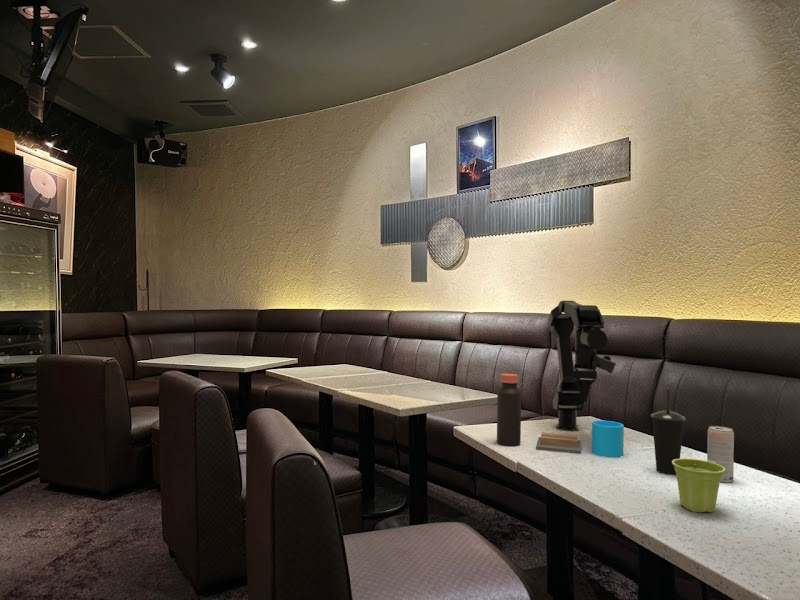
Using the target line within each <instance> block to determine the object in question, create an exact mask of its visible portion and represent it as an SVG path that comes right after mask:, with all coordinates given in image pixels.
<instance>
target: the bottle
mask: <svg viewBox="0 0 800 600" xmlns="http://www.w3.org/2000/svg"><path fill="white" fill-rule="evenodd" d="M500 382H501V383H500V384H501V387H500V388H498V390H497V392H496V393H497V397H496V398H497V401H496V403H497V404H496V405H497V406H496V407H497V408H496V416H497V417H496V442H497V444H498V445H500V446H505V445H506V447H507V446H508V447H516V446H519V445H520V444H521V434H522V433H521V432H522V431H521V428H522V427H521V426H522V391H520V389H519V388H518V384H519V375H518V374H515V373H501V374H500Z"/></svg>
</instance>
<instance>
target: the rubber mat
mask: <svg viewBox="0 0 800 600" xmlns="http://www.w3.org/2000/svg"><path fill="white" fill-rule="evenodd" d="M537 438H538V439H537V441H536V444H535V450H536V449H537V450H538V451H539V450H540V451H546V450H548V452H560V453H567V452H569V454H578V453H579V454H581V455H582V440H578V445H577V448H572V447H561V446H551V445H540V438H541V436H538V437H537Z"/></svg>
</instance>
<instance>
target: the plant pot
mask: <svg viewBox="0 0 800 600" xmlns="http://www.w3.org/2000/svg"><path fill="white" fill-rule="evenodd" d="M672 464H673V465H674V468H675V471H676V474H675V475H676V480H677V488H678V497H679V505H681V506H683V507H684V508H685V509H686V510H688V511H692V512H697V513H704V512H707V513H713V512H715V510H716V506H717V499H718V493H719V487H720V484H721V482H720V479H721V478H722V474H723V472H725V468H724V467H723V466H721V465H719V464H716V463H712V462H708V461H707V460H703V459H702V460H701V459H697V458H696V459H695V458H680V459H675V460H673V461H672Z"/></svg>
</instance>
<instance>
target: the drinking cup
mask: <svg viewBox="0 0 800 600" xmlns="http://www.w3.org/2000/svg"><path fill="white" fill-rule="evenodd" d="M670 392H671V390H669V389H666V410H660V411H656V412H653V413H651V414H650V417H651V420H652V430H653V431H652V433H653V434H652V435H653V444H654V455H655V457H654V458H655V468H656V469H655V470H656V472H657V473H659V474H660V473H661V474H664V475H671V476H672V475H674V476H675V475H676V471H675V468H674V465H673V464H672V461H673V460H675V459H681V453H682V451H681V450H682V444H683V443H682V442H683V434H684V426H685V421H686V417H685V416H684V415H681V414H680V413H678V412H675V411H672V410H671V409H670V407H671V406H670V403H671V400H670V399H671V398H670V397H671V394H670Z"/></svg>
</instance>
